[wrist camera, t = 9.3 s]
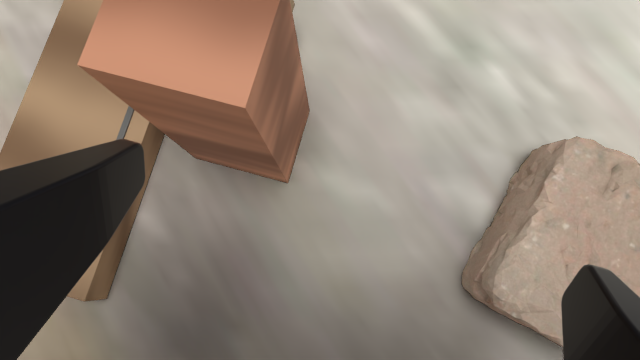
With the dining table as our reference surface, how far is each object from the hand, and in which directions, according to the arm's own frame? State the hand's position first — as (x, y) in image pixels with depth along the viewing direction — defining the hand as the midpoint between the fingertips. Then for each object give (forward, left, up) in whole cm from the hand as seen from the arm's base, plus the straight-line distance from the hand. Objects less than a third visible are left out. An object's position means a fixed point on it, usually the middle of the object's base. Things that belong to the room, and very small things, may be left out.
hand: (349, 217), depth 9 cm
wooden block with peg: (+6, +6, -14) cm, 16 cm away
